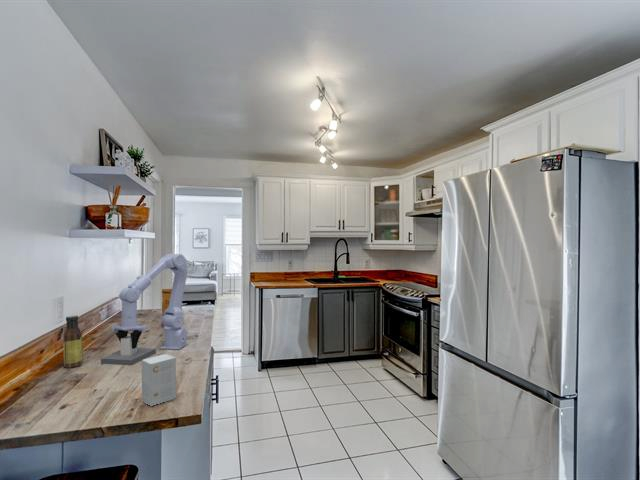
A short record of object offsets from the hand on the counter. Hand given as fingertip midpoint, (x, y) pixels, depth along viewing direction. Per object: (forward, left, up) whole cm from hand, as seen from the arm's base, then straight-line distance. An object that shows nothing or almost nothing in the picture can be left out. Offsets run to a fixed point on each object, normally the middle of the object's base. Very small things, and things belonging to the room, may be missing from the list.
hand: (129, 347), depth 152 cm
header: (0, 0, -4) cm, 4 cm away
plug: (0, 0, -3) cm, 3 cm away
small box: (-37, +36, -5) cm, 52 cm away
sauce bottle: (+16, +12, -5) cm, 20 cm away
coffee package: (+17, -61, -5) cm, 64 cm away
